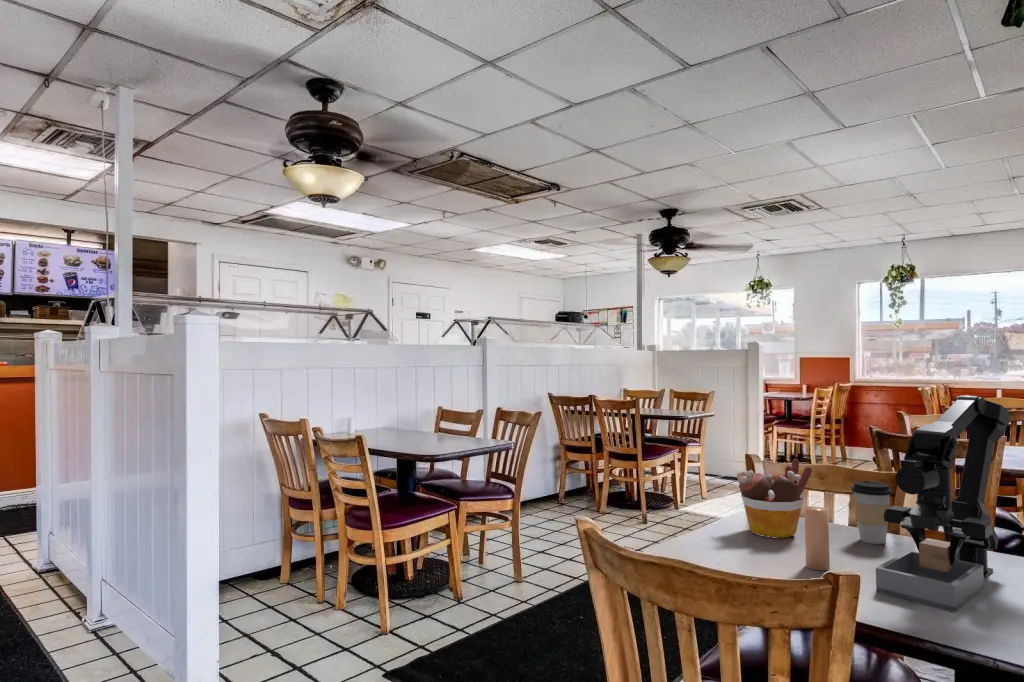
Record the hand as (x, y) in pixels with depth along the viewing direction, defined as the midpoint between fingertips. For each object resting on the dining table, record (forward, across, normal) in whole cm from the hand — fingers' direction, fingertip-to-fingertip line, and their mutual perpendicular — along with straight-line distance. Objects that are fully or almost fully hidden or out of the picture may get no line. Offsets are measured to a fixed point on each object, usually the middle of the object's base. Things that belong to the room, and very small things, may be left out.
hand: (937, 561), depth 135 cm
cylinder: (+5, -22, -8) cm, 24 cm away
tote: (+5, 0, -5) cm, 7 cm away
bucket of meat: (+5, -43, +12) cm, 45 cm away
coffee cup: (+5, -22, +24) cm, 33 cm away
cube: (+1, 0, 0) cm, 1 cm away
